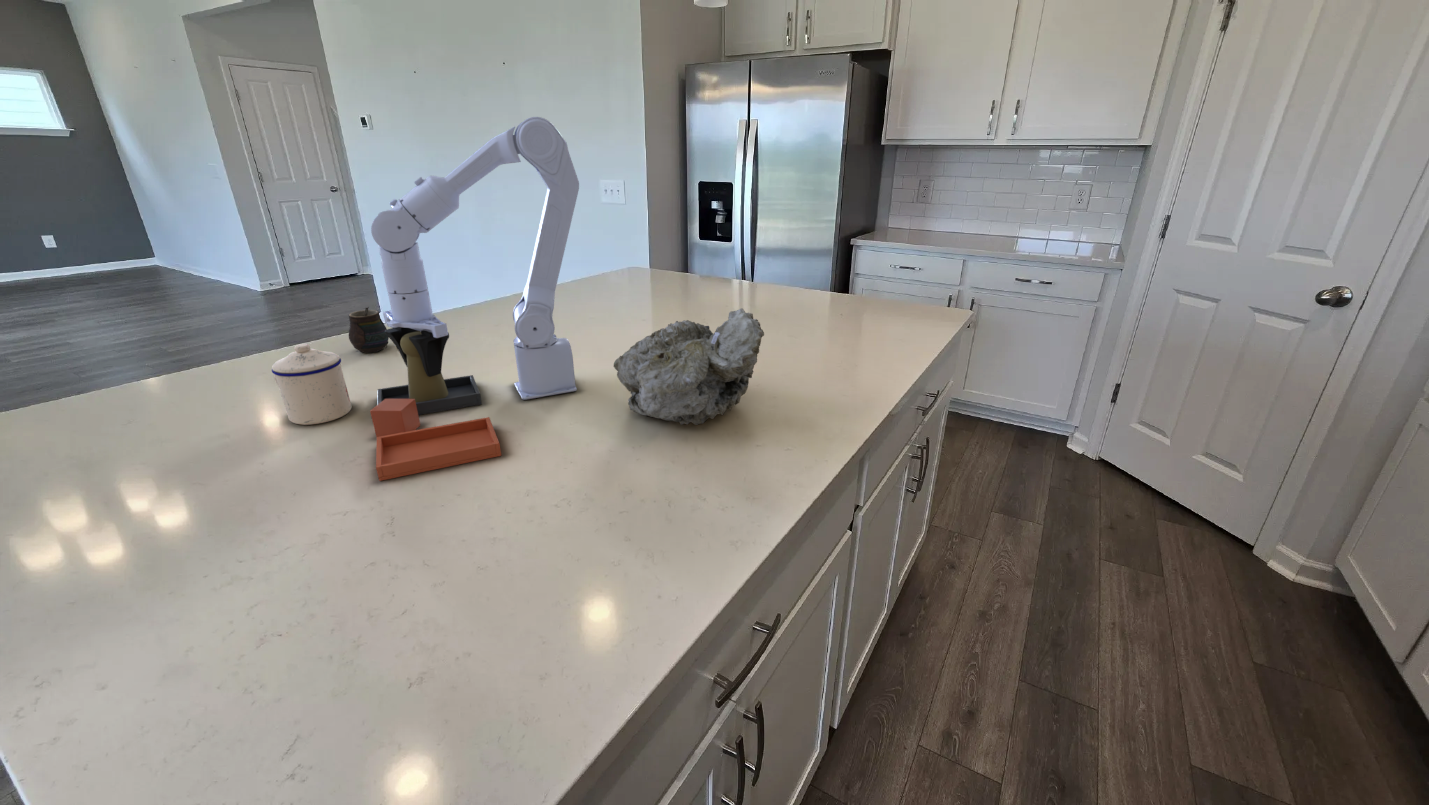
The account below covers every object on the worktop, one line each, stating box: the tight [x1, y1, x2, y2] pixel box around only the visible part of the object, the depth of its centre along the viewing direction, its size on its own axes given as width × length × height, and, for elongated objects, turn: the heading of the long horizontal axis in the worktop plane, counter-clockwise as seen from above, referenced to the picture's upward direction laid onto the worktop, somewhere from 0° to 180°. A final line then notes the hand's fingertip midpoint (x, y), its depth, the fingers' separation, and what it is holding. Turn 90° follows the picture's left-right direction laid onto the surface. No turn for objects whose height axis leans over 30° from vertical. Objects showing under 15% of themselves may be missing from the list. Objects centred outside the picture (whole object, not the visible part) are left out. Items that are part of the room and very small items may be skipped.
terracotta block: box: [369, 399, 421, 438], centre depth 88 cm, size 4×4×4 cm
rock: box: [613, 308, 765, 426], centre depth 93 cm, size 24×17×25 cm
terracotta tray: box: [375, 416, 502, 482], centre depth 82 cm, size 15×10×2 cm, turn 118°
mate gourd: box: [348, 306, 390, 354], centre depth 122 cm, size 7×8×10 cm
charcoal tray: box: [376, 374, 483, 416], centre depth 99 cm, size 15×10×2 cm, turn 118°
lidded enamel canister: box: [271, 343, 352, 426], centre depth 92 cm, size 12×9×12 cm
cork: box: [400, 331, 448, 403], centre depth 96 cm, size 6×6×11 cm
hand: (424, 371), depth 97 cm, fingers closed on cork, 5 cm apart
